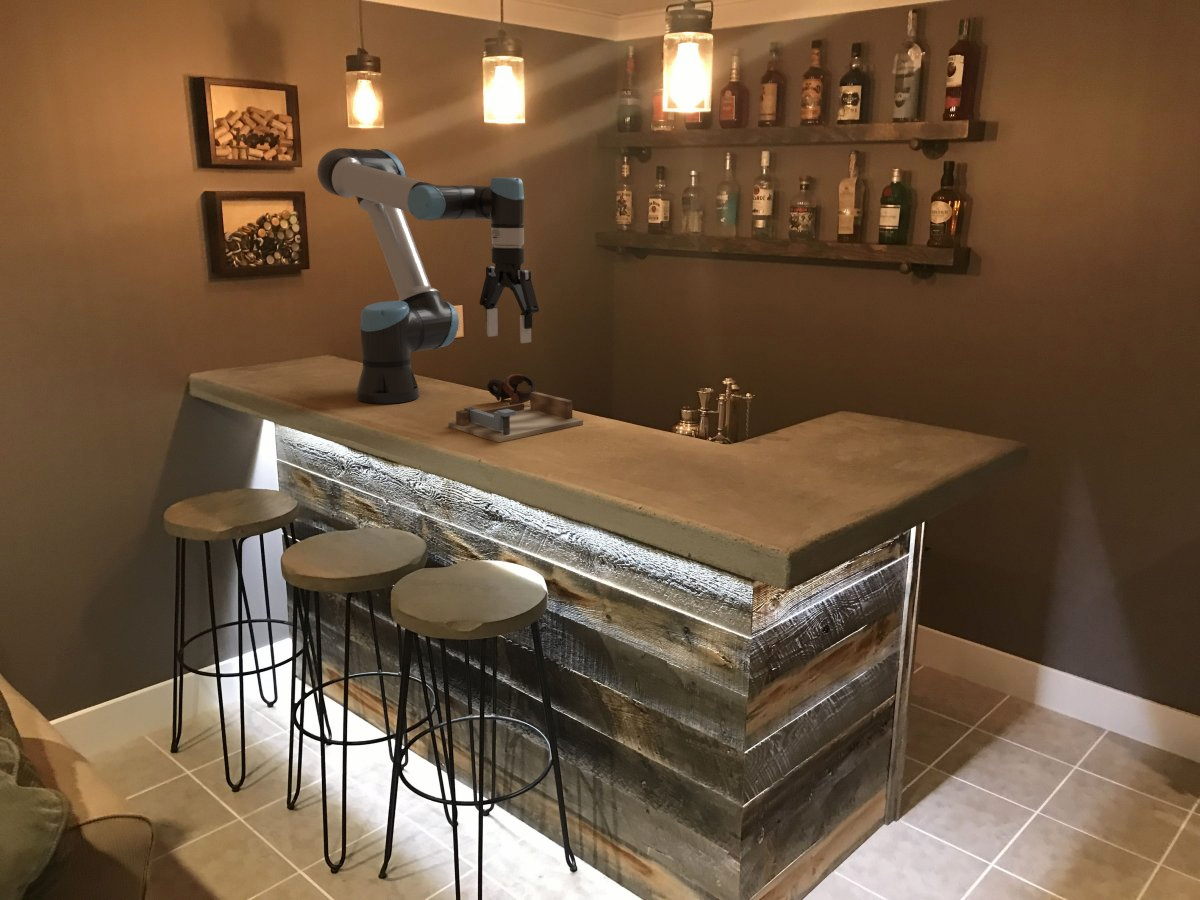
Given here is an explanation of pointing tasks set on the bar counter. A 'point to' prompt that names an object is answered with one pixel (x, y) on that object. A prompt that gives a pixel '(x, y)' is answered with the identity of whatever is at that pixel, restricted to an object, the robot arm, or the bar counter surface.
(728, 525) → the bar counter surface
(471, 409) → the leg
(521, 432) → the board
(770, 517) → the bar counter surface
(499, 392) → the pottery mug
